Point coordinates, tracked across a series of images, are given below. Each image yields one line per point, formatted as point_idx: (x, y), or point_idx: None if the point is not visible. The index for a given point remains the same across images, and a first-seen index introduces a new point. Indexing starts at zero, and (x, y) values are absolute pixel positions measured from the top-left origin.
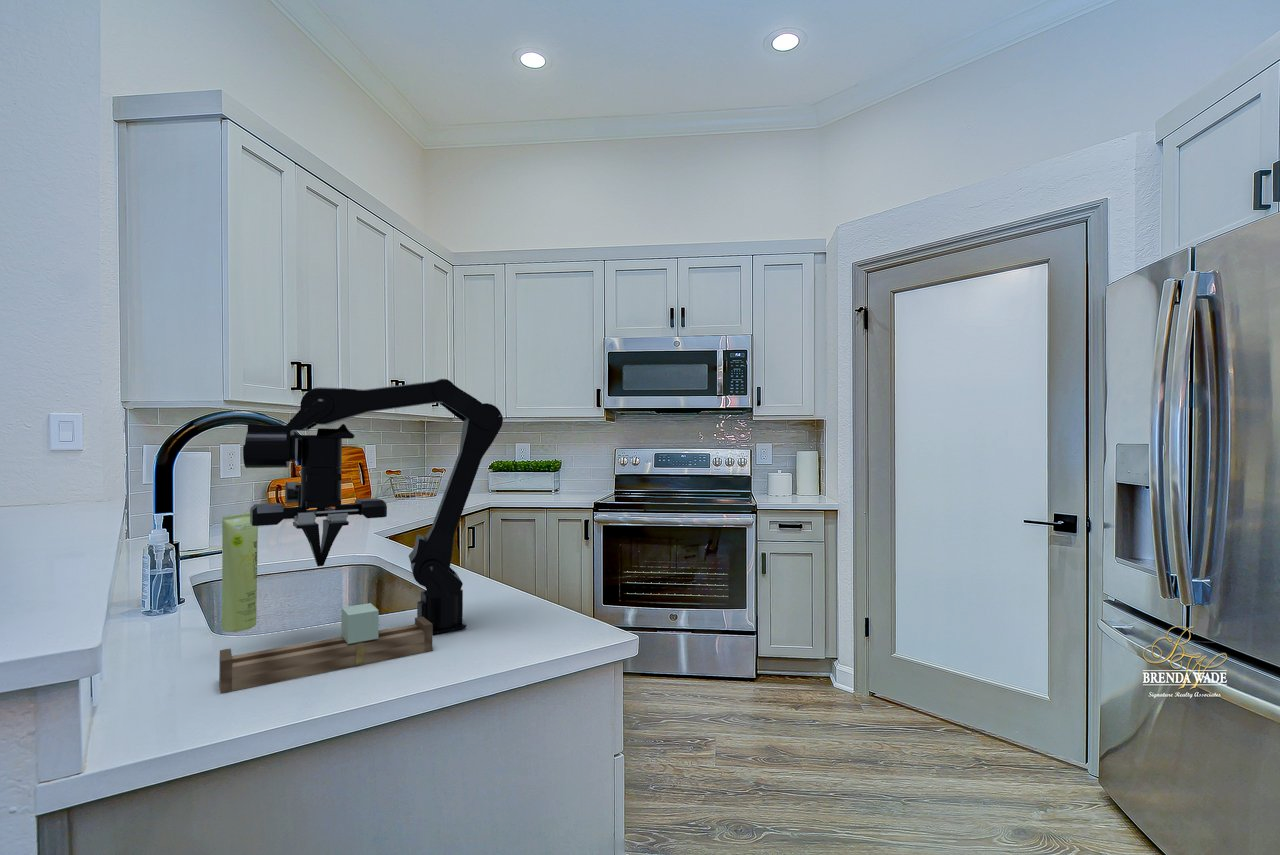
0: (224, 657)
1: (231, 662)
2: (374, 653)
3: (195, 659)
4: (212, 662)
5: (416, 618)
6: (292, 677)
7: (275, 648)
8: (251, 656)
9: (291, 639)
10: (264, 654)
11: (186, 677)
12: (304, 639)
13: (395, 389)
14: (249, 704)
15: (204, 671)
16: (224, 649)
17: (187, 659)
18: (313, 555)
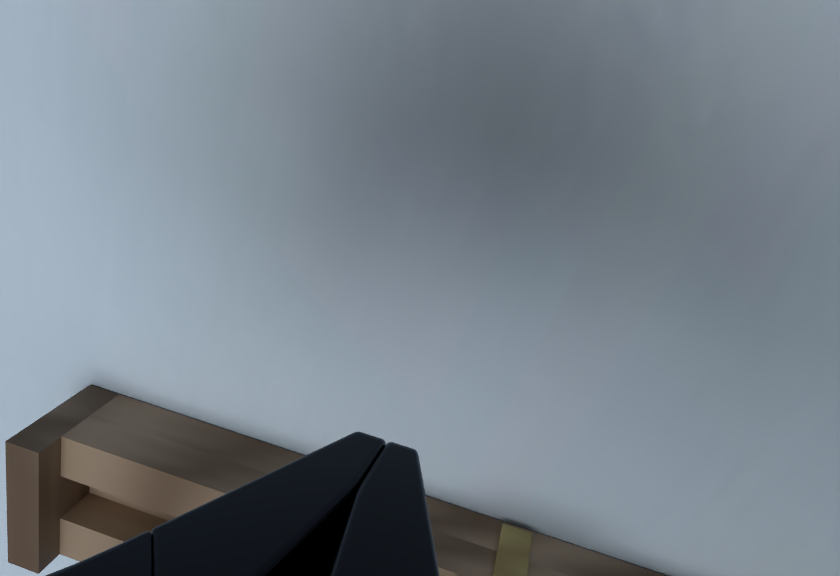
0: (17, 535)
1: (44, 565)
2: None
3: (29, 37)
4: (82, 144)
5: None
6: None
7: (203, 490)
8: (121, 497)
9: (420, 59)
10: (162, 509)
11: (7, 255)
12: (468, 119)
13: None
14: None
15: (56, 238)
16: (19, 446)
17: (3, 7)
18: (277, 471)
